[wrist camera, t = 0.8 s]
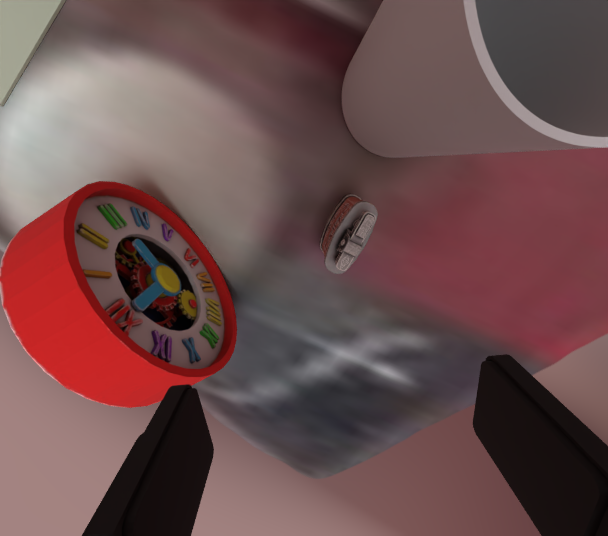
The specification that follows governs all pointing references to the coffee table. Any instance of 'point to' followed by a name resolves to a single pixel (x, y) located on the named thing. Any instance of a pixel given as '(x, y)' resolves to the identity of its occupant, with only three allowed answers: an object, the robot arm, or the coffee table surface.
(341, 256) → the lighter
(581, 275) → the coffee table surface
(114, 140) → the coffee table surface
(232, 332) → the toy clock
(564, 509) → the robot arm
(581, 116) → the cylinder vase
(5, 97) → the mat
